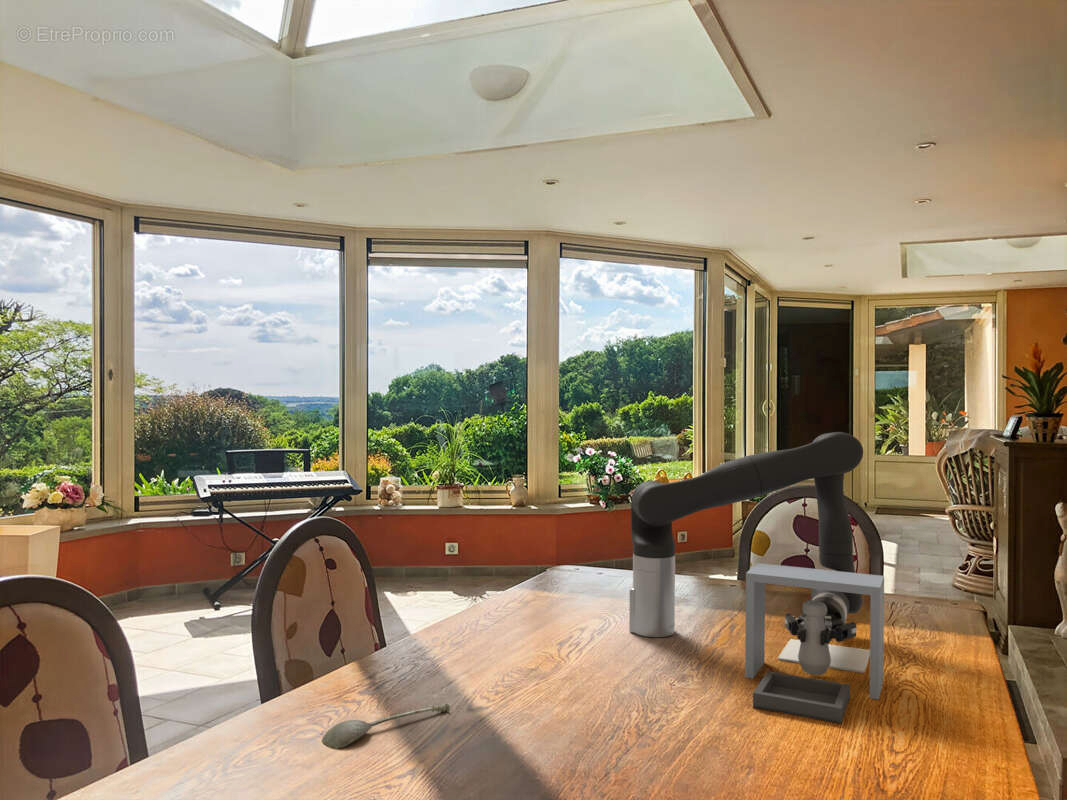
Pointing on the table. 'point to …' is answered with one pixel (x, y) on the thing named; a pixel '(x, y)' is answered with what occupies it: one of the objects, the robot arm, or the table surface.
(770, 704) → the pit box
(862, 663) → the pad
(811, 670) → the salt shaker
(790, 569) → the gate
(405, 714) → the soupspoon
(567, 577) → the table surface
